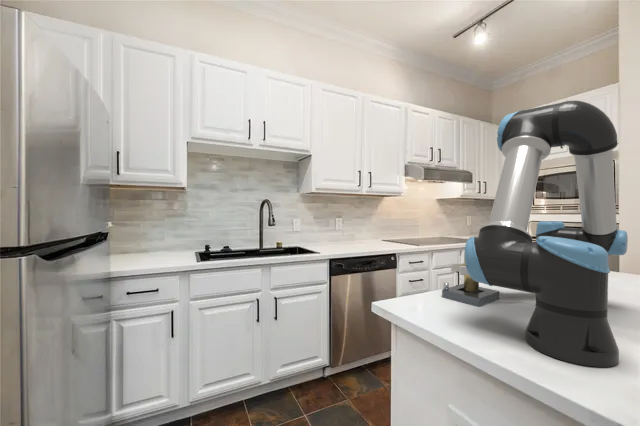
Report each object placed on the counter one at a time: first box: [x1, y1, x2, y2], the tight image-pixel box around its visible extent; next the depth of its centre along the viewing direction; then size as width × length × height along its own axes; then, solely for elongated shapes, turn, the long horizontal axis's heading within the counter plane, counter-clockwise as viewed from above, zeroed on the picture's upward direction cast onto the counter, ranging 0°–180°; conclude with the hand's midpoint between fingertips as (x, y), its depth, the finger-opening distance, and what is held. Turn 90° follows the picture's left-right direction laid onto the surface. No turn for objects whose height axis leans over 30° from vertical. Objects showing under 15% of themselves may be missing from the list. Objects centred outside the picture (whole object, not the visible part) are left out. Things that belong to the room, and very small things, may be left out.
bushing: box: [463, 252, 480, 292], centre depth 99 cm, size 4×4×12 cm
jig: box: [441, 282, 501, 308], centre depth 99 cm, size 14×12×4 cm
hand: (455, 269), depth 98 cm, fingers closed on bushing, 4 cm apart
